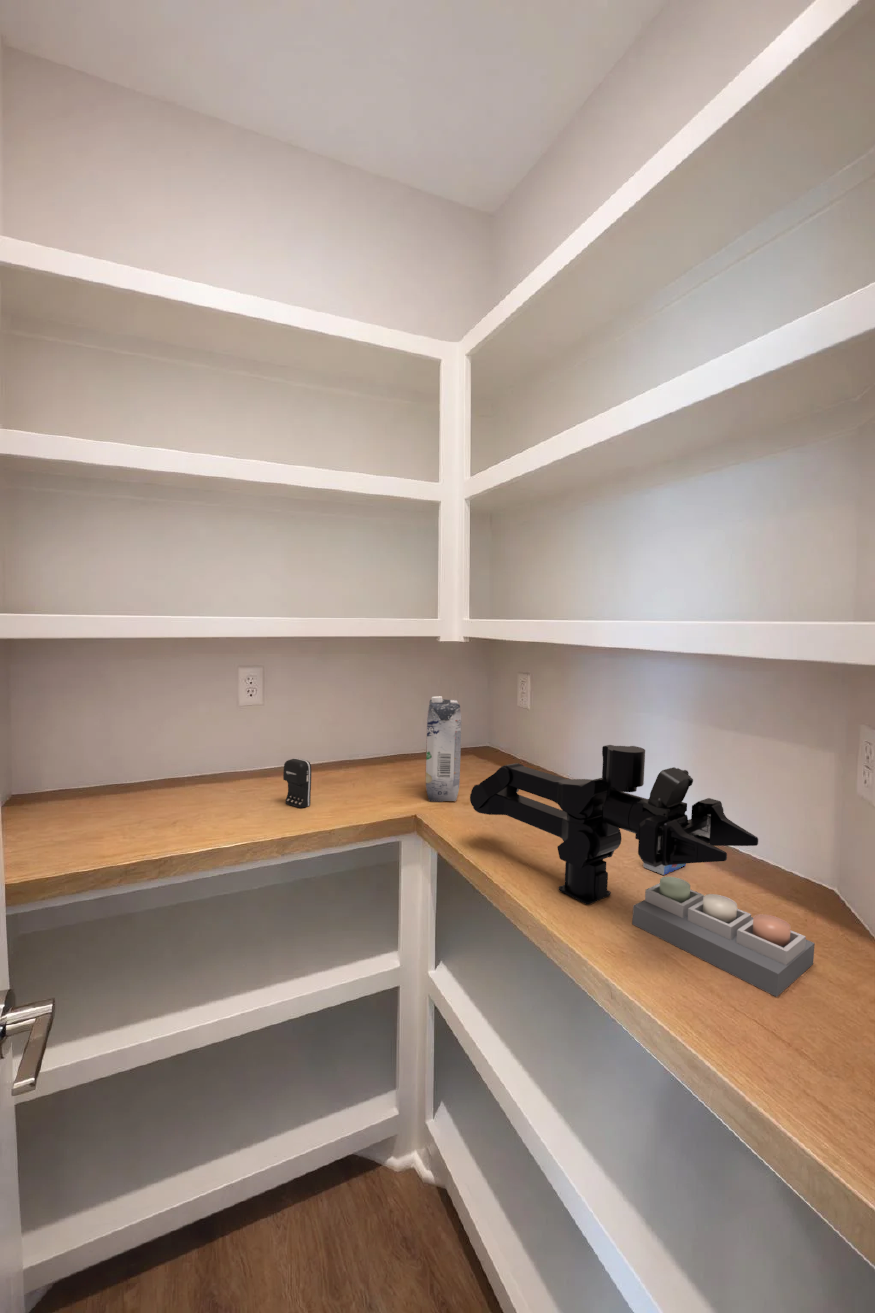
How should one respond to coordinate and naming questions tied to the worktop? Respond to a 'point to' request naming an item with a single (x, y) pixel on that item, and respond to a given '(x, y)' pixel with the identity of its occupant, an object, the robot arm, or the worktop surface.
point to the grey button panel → (724, 941)
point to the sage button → (675, 888)
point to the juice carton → (443, 749)
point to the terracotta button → (772, 929)
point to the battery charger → (298, 782)
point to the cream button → (720, 907)
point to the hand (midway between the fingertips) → (742, 849)
